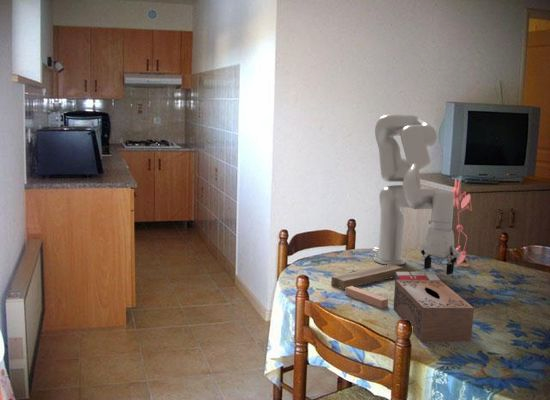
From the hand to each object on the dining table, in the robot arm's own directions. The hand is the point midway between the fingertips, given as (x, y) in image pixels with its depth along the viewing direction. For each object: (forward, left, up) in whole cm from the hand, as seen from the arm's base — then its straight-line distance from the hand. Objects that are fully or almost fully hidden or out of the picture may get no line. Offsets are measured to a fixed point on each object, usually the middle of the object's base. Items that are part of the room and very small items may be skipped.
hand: (438, 271), depth 222 cm
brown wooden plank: (-16, -20, -4) cm, 26 cm away
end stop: (0, -38, -4) cm, 39 cm away
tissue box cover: (+25, -38, -5) cm, 46 cm away
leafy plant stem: (-15, +29, -4) cm, 33 cm away
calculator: (-2, -9, -5) cm, 11 cm away
